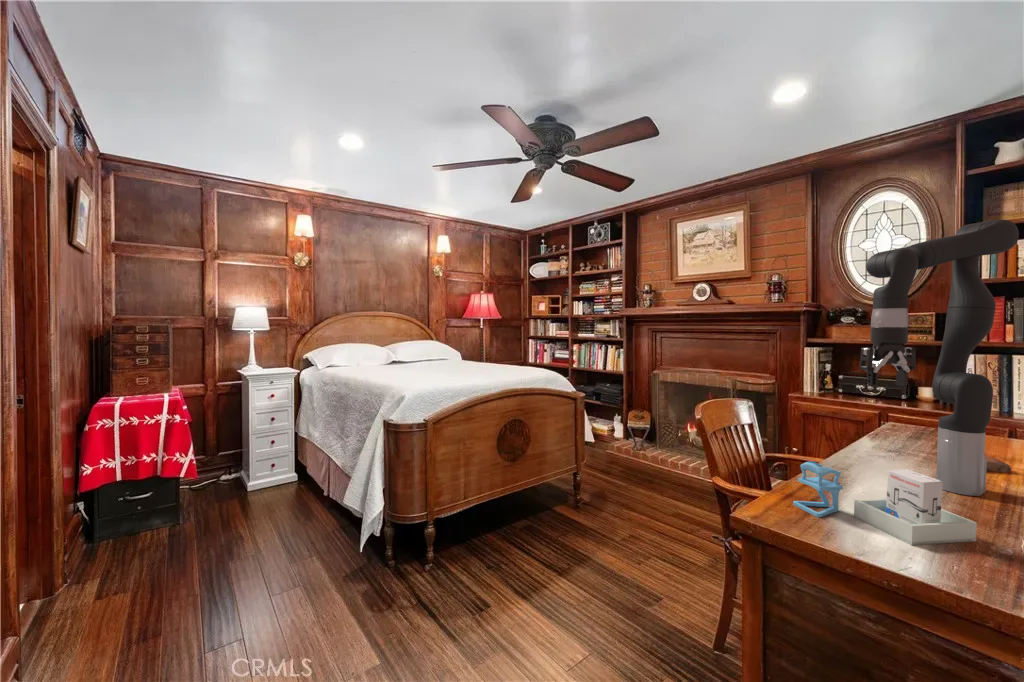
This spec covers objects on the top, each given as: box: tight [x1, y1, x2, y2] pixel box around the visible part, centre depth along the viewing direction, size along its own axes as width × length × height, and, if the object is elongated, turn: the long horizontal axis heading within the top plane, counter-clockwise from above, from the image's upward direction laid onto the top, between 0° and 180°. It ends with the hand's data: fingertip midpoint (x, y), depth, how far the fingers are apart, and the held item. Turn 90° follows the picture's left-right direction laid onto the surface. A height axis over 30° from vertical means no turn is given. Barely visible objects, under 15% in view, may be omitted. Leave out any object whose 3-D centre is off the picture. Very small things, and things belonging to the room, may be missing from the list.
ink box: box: [886, 468, 943, 524], centre depth 99 cm, size 9×5×12 cm, turn 6°
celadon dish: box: [853, 498, 978, 546], centre depth 99 cm, size 16×14×4 cm
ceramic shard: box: [984, 454, 1012, 473], centre depth 144 cm, size 15×6×15 cm
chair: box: [792, 460, 843, 518], centre depth 109 cm, size 8×8×12 cm
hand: (886, 386), depth 116 cm, fingers open, 8 cm apart
